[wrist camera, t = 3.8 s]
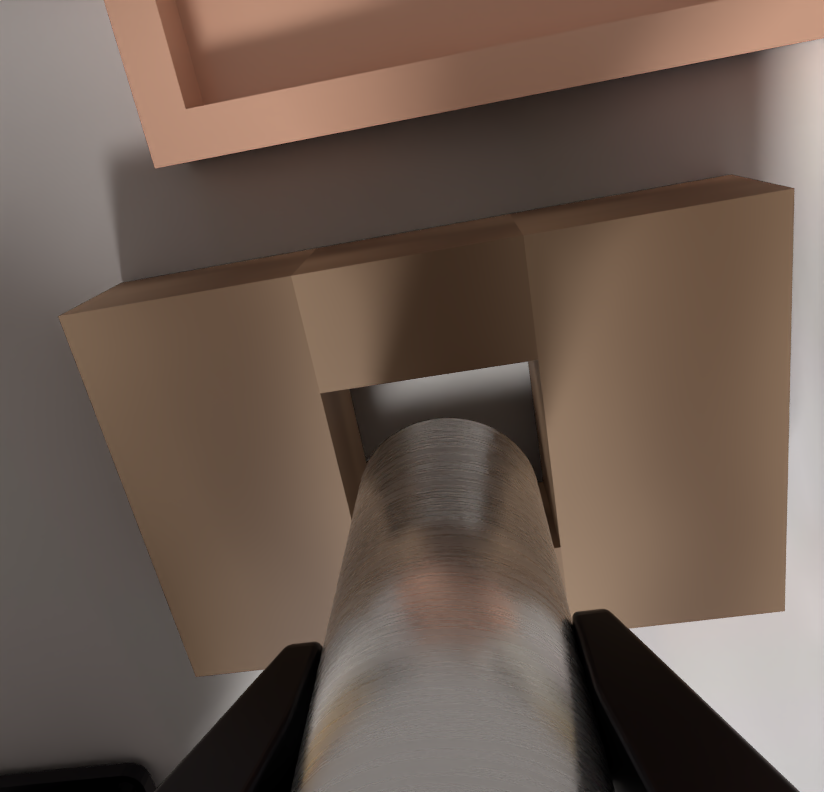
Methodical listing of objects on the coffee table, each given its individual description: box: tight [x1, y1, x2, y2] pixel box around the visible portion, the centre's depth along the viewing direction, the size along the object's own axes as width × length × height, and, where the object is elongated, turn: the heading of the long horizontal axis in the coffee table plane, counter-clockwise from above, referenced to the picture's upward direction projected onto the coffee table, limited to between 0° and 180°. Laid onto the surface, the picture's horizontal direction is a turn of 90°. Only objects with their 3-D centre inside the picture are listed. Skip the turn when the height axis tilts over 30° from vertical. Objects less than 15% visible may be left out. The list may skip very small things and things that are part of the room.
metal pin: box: [290, 418, 615, 792], centre depth 8 cm, size 3×3×8 cm
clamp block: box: [58, 175, 794, 677], centre depth 14 cm, size 12×8×2 cm, turn 100°
